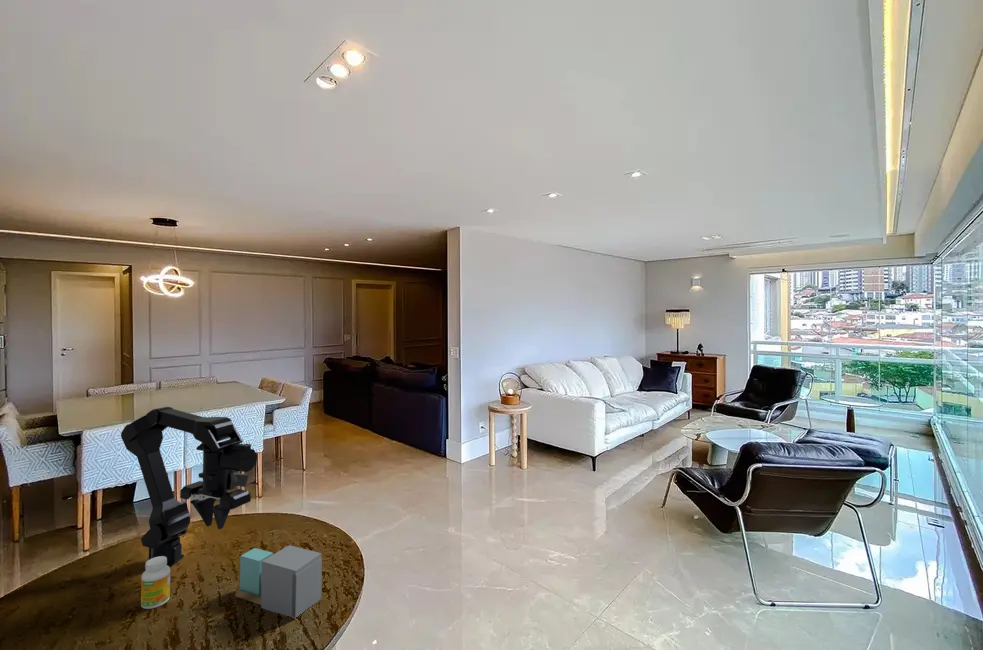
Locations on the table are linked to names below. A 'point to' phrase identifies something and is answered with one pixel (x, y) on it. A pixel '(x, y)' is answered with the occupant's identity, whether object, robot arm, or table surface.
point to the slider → (252, 570)
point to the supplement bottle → (155, 583)
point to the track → (248, 596)
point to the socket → (291, 581)
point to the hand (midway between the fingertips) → (214, 527)
